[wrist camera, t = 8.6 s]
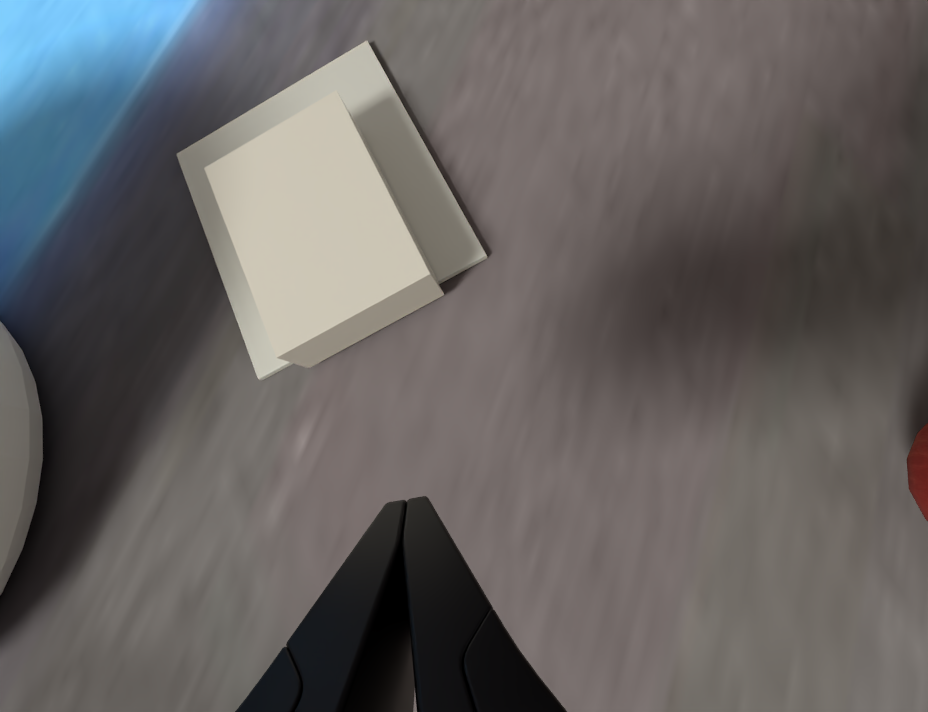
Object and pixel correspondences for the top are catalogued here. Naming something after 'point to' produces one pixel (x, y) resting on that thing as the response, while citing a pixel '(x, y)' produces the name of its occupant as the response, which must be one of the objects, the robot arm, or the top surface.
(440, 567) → the robot arm
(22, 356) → the pot
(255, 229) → the beige rectangular block
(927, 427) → the onion
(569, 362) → the top surface
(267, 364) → the mat
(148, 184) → the top surface
